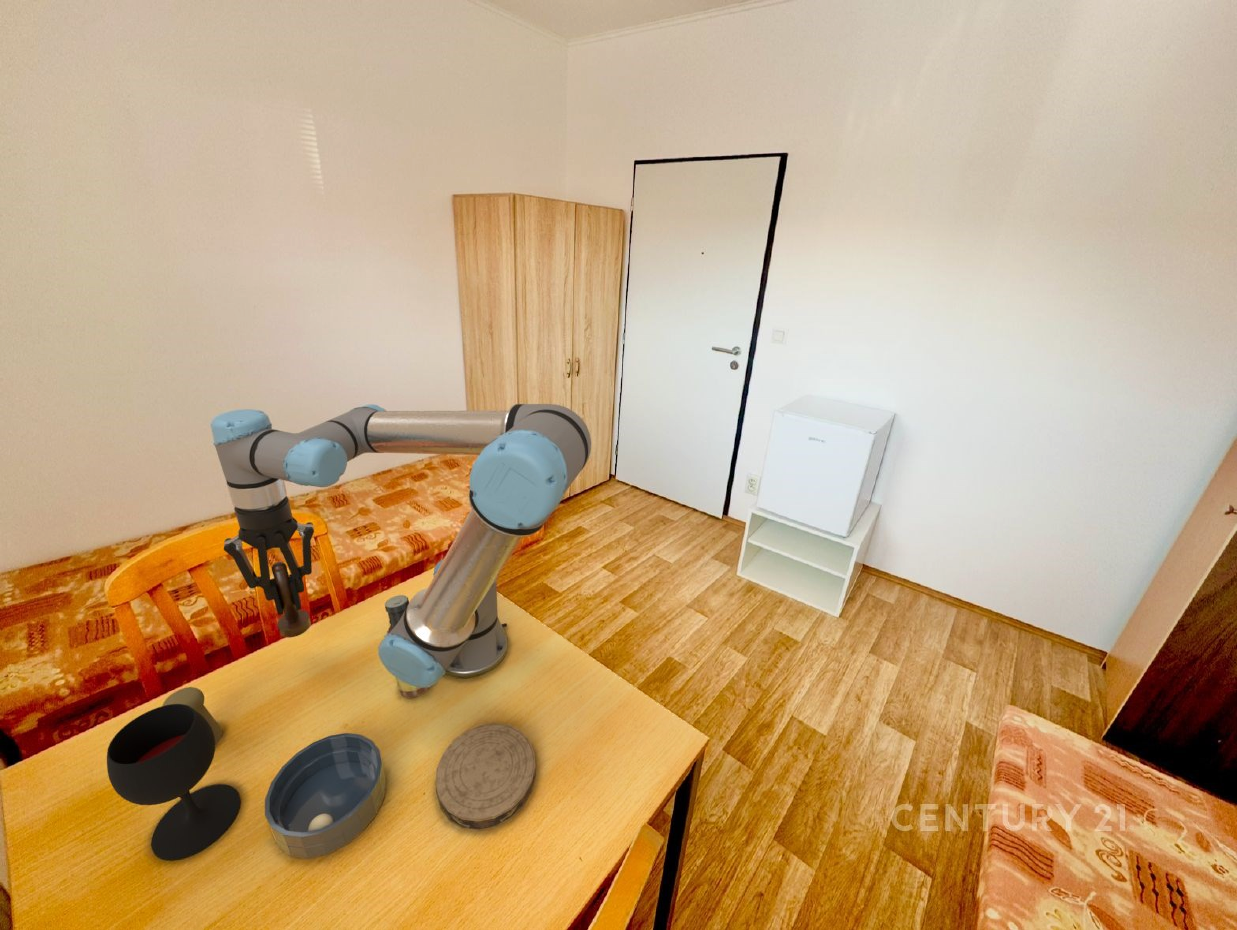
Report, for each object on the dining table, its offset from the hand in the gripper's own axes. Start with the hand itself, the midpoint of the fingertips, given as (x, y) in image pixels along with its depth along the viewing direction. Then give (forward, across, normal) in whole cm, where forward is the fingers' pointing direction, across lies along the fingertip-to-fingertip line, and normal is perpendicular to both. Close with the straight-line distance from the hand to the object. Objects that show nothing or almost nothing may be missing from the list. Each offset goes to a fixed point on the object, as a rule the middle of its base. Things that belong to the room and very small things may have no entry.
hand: (289, 607), depth 92 cm
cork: (+15, +16, +10) cm, 24 cm away
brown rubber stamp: (+6, 0, -1) cm, 6 cm away
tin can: (+15, -24, +40) cm, 49 cm away
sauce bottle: (+15, -18, +16) cm, 29 cm away
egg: (+12, 0, +36) cm, 38 cm away
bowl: (+15, -2, +32) cm, 35 cm away
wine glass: (+15, +15, +25) cm, 33 cm away
